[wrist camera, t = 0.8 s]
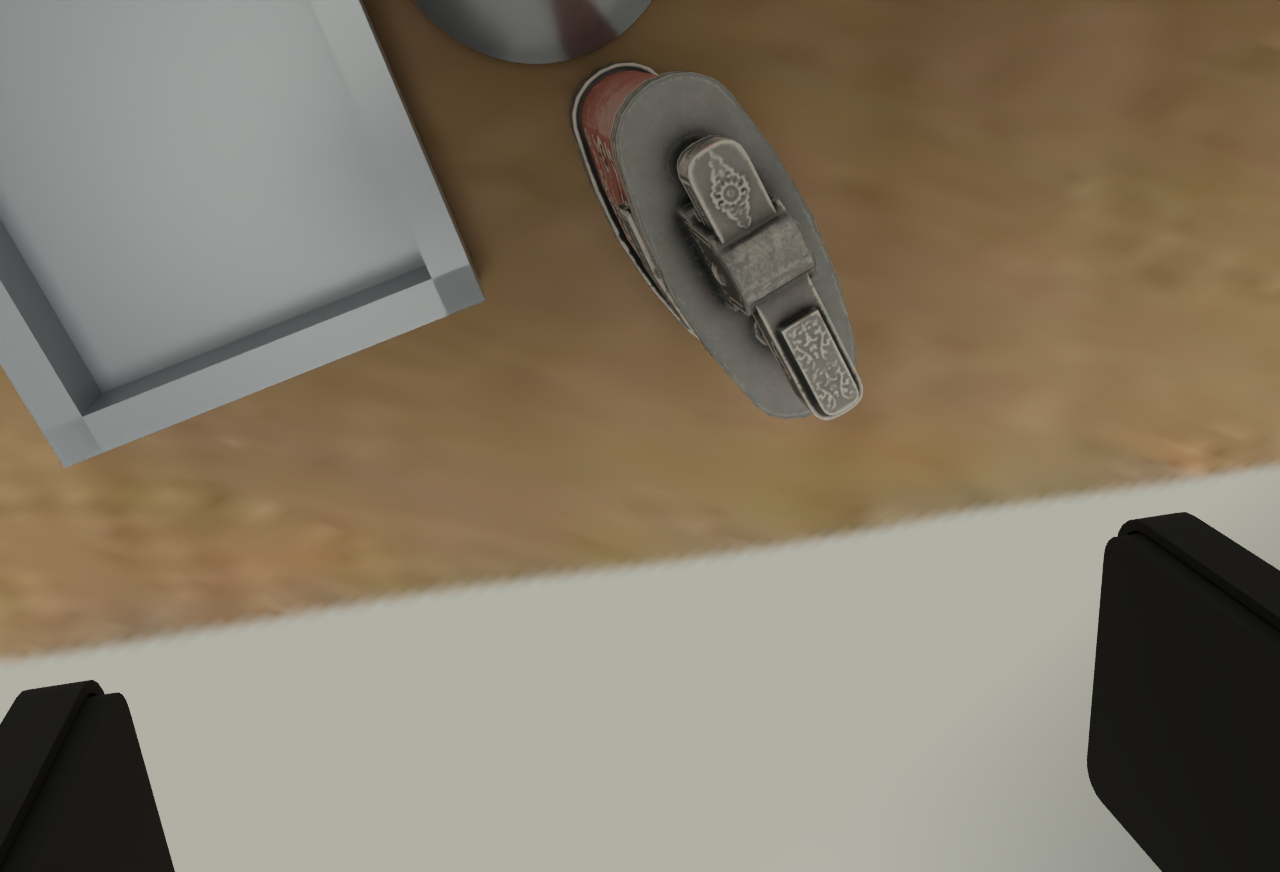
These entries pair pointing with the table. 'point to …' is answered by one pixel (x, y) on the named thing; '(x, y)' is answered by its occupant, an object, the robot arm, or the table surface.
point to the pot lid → (533, 26)
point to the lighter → (719, 234)
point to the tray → (204, 207)
